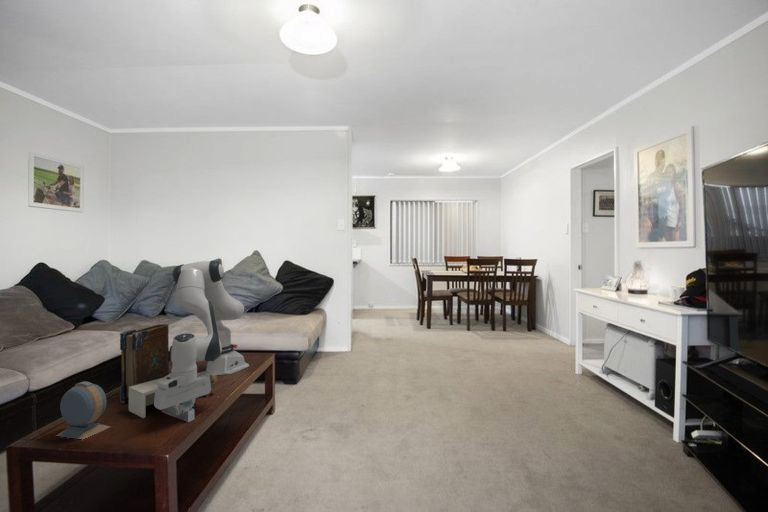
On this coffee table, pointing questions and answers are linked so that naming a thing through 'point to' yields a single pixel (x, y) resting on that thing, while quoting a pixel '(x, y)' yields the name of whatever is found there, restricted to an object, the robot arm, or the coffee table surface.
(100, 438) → the coffee table surface
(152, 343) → the decorative book
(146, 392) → the block
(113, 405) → the coffee table surface
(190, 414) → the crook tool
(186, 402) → the cube
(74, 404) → the alarm clock
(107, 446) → the coffee table surface
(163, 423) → the coffee table surface
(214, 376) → the lion figurine
